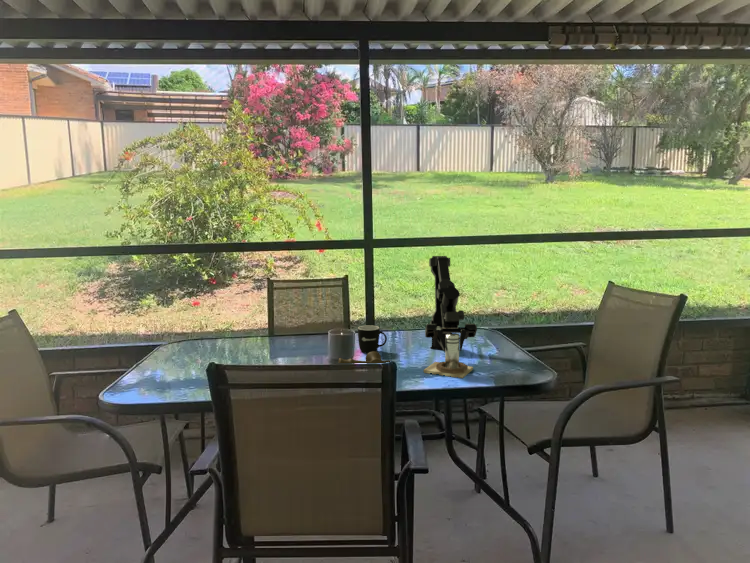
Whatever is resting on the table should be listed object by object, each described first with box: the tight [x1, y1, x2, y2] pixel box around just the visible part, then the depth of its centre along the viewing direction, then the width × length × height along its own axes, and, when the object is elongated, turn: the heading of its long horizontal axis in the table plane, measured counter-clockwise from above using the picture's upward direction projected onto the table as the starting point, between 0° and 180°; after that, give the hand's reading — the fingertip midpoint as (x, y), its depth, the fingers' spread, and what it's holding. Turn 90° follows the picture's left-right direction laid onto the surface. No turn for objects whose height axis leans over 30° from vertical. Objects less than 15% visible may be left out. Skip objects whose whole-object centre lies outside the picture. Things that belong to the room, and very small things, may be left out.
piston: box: [444, 333, 460, 369], centre depth 220 cm, size 5×5×13 cm
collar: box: [423, 361, 474, 379], centre depth 222 cm, size 15×12×2 cm
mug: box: [357, 324, 388, 354], centre depth 248 cm, size 12×9×10 cm
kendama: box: [337, 351, 391, 364], centre depth 223 cm, size 6×10×20 cm
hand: (452, 350), depth 218 cm, fingers open, 6 cm apart
